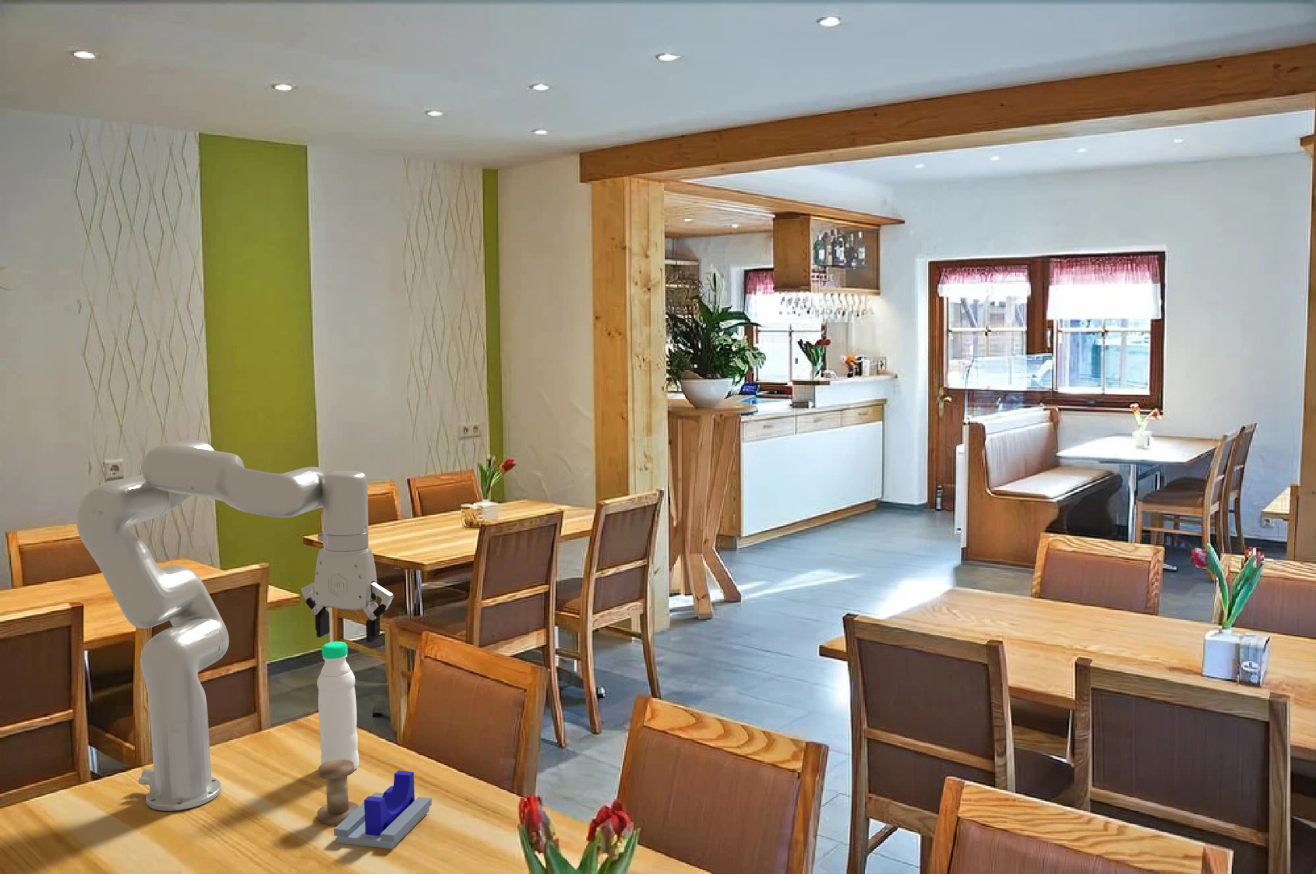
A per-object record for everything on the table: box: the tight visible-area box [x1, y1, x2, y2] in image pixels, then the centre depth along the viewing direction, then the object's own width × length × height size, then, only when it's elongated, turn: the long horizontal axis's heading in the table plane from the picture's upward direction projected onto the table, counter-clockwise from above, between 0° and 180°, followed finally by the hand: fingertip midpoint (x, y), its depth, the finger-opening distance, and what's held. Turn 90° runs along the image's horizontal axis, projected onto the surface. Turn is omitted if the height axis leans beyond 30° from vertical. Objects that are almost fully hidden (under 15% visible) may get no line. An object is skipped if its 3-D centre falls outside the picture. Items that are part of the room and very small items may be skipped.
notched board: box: [333, 792, 433, 850], centre depth 183 cm, size 11×14×2 cm
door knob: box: [316, 759, 360, 826], centre depth 187 cm, size 7×7×9 cm
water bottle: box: [316, 641, 360, 771], centre depth 205 cm, size 7×7×25 cm
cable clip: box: [363, 770, 416, 836], centre depth 183 cm, size 12×4×6 cm, turn 166°
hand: (347, 637), depth 186 cm, fingers open, 9 cm apart
